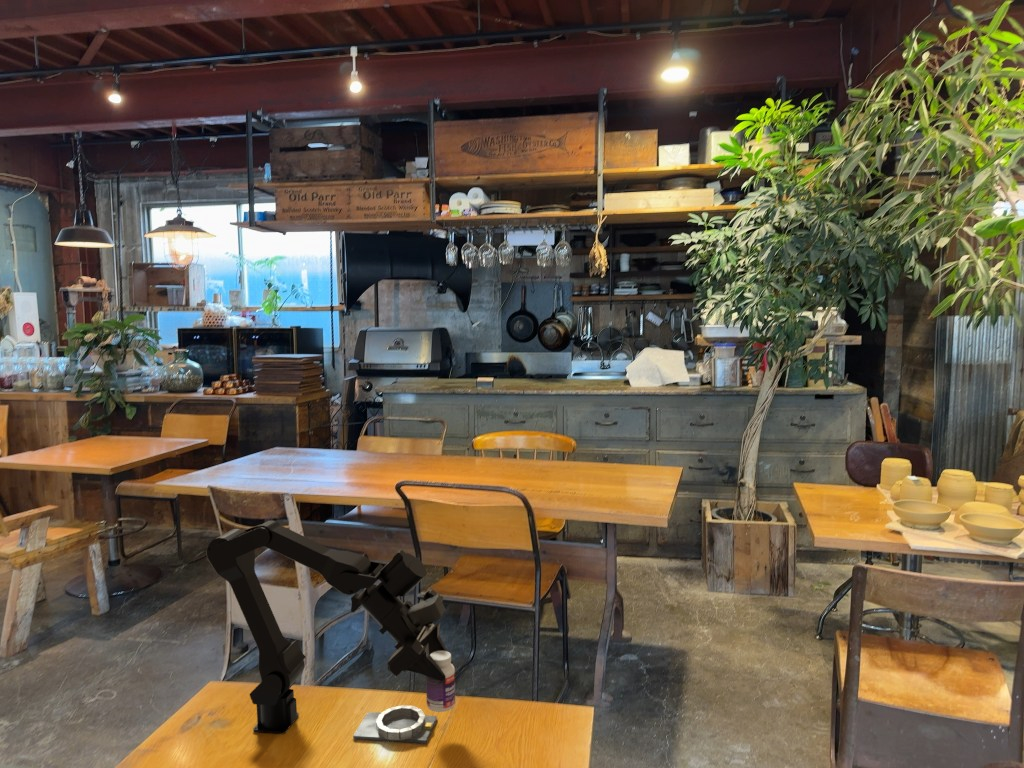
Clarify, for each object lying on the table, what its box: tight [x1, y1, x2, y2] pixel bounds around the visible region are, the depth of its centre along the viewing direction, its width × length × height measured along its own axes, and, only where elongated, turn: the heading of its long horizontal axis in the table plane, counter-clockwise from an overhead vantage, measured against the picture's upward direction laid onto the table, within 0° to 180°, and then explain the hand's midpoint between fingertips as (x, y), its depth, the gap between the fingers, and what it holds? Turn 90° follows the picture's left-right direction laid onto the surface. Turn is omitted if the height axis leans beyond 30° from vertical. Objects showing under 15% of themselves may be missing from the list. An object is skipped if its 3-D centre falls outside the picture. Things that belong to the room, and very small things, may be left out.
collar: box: [376, 704, 432, 740], centre depth 130 cm, size 10×9×2 cm
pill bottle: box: [425, 650, 456, 713], centre depth 128 cm, size 5×5×10 cm
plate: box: [352, 711, 438, 745], centre depth 130 cm, size 14×8×1 cm, turn 82°
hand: (447, 671), depth 127 cm, fingers closed on pill bottle, 5 cm apart
